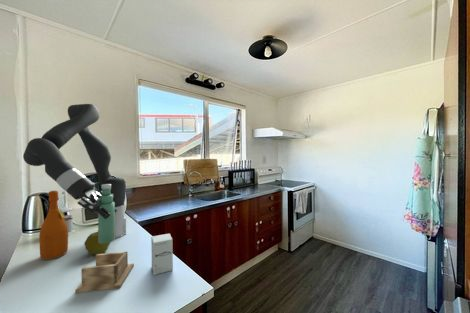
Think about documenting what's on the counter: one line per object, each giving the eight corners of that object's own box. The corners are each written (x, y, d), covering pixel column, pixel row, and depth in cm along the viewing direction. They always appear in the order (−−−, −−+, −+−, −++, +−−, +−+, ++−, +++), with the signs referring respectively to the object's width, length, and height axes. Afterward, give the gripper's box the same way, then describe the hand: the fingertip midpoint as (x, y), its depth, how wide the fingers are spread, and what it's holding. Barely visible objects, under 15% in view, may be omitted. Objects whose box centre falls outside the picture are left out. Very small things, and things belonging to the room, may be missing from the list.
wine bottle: (51, 261, 87) (50, 193, 87) (33, 259, 89) (32, 192, 89) (73, 251, 97) (72, 189, 96) (57, 249, 99) (56, 188, 98)
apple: (107, 246, 102) (107, 224, 102) (112, 252, 95) (112, 229, 95) (83, 253, 95) (83, 230, 95) (86, 260, 88) (86, 235, 88)
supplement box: (153, 276, 76) (152, 242, 76) (151, 266, 82) (151, 236, 82) (173, 270, 79) (172, 238, 79) (170, 261, 86) (169, 232, 86)
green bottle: (110, 236, 78) (110, 183, 78) (117, 239, 76) (117, 184, 76) (95, 241, 74) (95, 185, 74) (102, 244, 71) (101, 186, 71)
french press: (65, 236, 115) (65, 192, 115) (45, 236, 115) (45, 193, 115) (79, 229, 125) (78, 189, 125) (60, 230, 125) (60, 190, 125)
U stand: (133, 265, 83) (133, 249, 83) (120, 287, 69) (120, 267, 69) (96, 269, 81) (96, 252, 81) (75, 292, 67) (74, 272, 67)
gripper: (71, 178, 67) (111, 212, 69) (94, 174, 81) (126, 202, 83) (53, 195, 66) (94, 229, 68) (79, 188, 80) (112, 216, 82)
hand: (111, 214), depth 75 cm, fingers closed on green bottle, 5 cm apart
